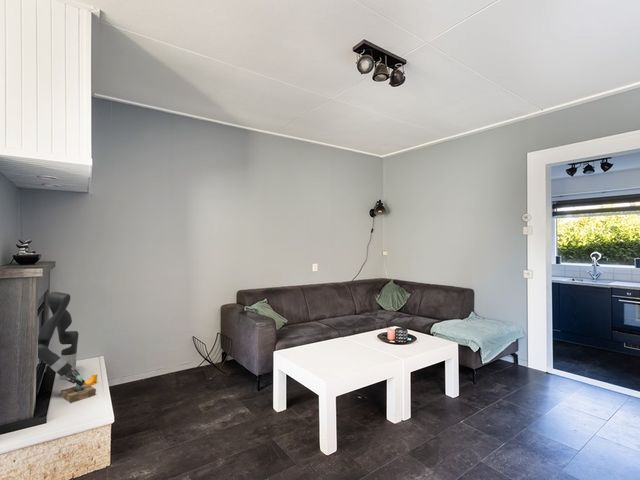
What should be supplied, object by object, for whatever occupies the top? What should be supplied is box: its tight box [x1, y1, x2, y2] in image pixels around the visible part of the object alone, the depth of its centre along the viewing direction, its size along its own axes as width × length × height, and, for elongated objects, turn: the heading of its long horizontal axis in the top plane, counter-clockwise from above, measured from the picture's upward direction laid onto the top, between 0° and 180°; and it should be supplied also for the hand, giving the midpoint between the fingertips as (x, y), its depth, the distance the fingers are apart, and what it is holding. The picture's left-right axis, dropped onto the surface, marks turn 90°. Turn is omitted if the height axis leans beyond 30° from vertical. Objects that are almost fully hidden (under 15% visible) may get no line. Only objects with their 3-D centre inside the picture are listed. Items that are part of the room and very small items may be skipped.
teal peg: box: [75, 374, 83, 392], centre depth 218 cm, size 3×3×10 cm
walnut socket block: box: [60, 383, 97, 404], centre depth 218 cm, size 14×14×4 cm
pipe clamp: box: [83, 373, 98, 387], centre depth 232 cm, size 12×4×6 cm, turn 169°
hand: (82, 383), depth 218 cm, fingers closed on teal peg, 3 cm apart
